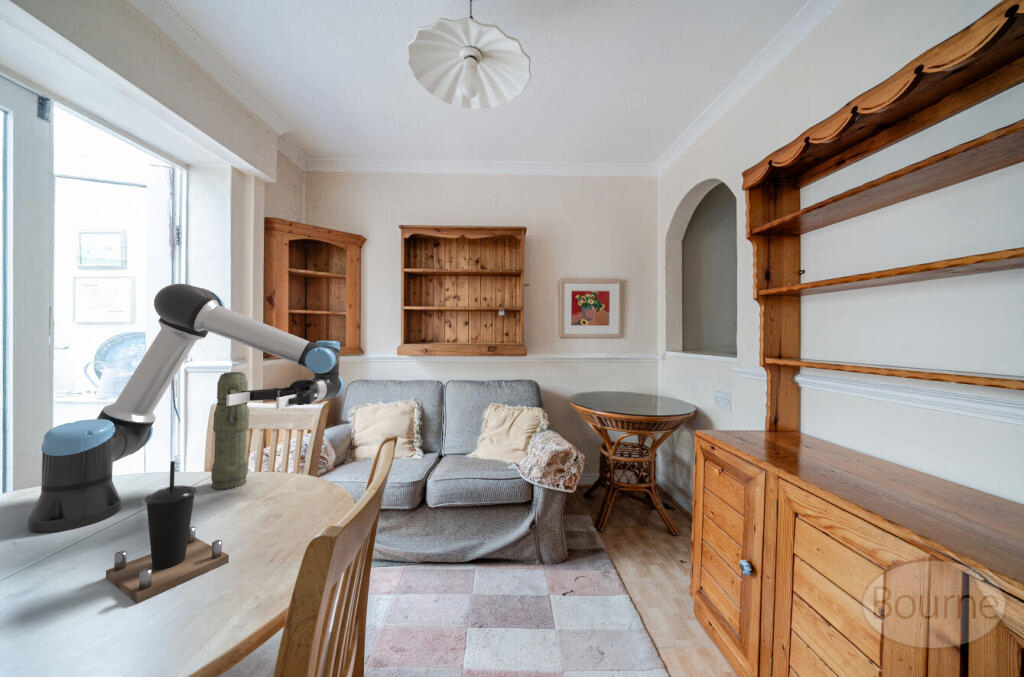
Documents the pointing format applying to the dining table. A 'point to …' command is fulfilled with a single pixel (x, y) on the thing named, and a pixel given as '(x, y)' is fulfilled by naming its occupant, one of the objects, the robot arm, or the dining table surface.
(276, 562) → the dining table surface
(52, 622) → the dining table surface
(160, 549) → the drinking cup
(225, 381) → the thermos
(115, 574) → the peg board
